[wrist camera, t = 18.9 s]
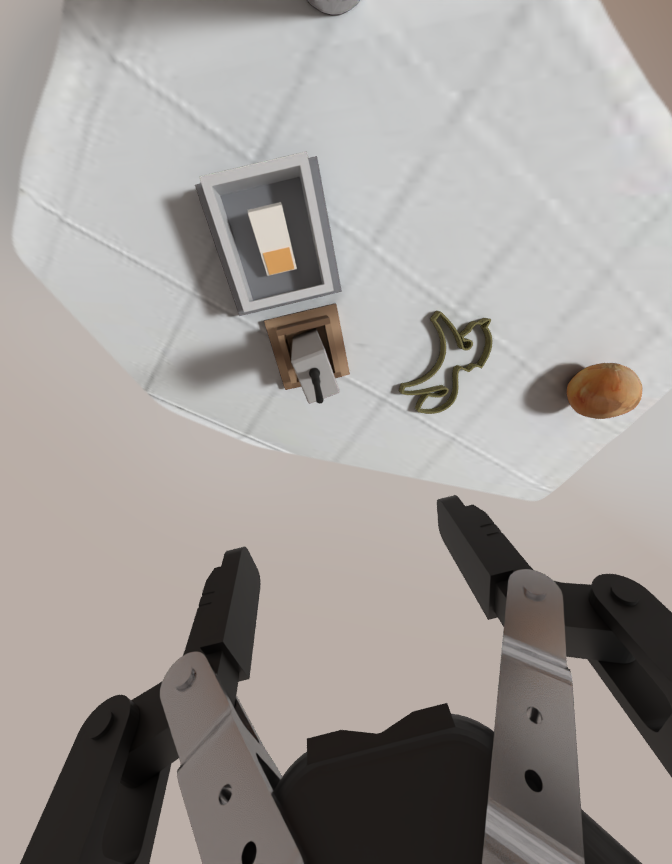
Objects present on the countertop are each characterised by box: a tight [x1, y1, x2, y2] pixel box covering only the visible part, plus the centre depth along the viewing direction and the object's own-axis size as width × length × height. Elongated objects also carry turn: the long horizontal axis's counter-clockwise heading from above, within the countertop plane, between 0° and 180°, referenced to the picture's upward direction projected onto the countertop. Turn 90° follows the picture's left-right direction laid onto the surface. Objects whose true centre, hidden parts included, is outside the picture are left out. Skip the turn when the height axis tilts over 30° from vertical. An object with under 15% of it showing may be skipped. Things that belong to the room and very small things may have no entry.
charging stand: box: [264, 303, 350, 390], centre depth 45 cm, size 11×11×5 cm
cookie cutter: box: [399, 311, 492, 414], centre depth 51 cm, size 18×12×2 cm, turn 160°
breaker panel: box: [195, 151, 342, 316], centre depth 38 cm, size 15×15×6 cm
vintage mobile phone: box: [291, 328, 339, 404], centre depth 35 cm, size 4×5×25 cm
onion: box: [567, 363, 642, 419], centre depth 52 cm, size 10×10×10 cm
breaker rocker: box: [248, 202, 297, 276], centre depth 37 cm, size 7×4×2 cm, turn 12°
